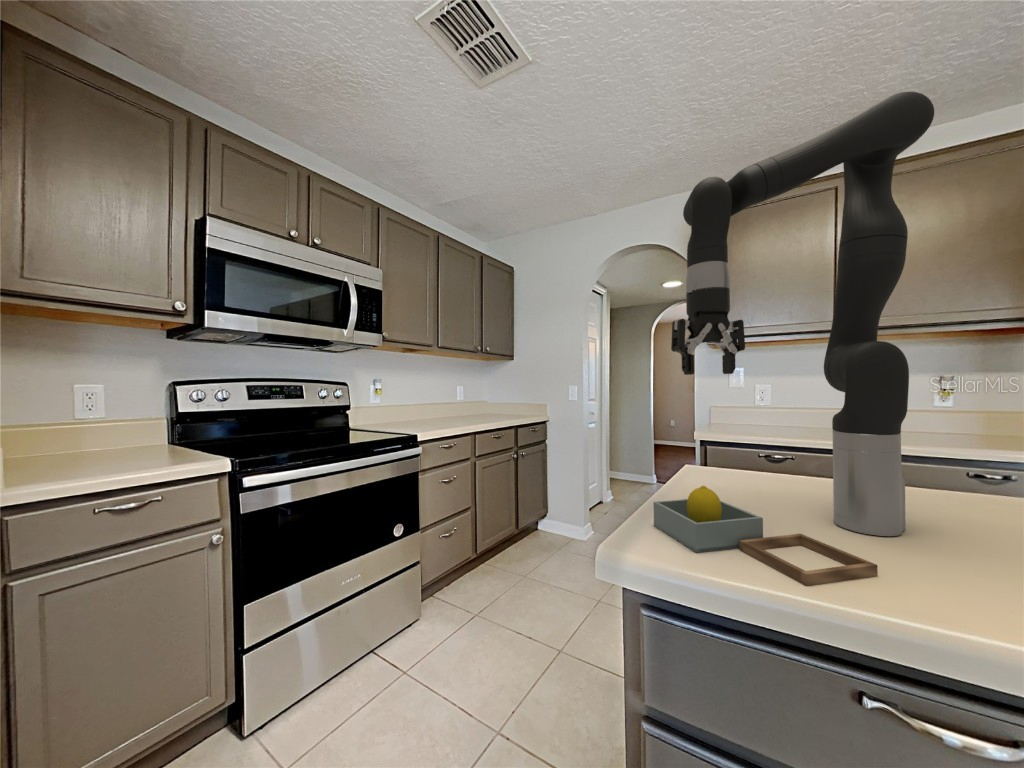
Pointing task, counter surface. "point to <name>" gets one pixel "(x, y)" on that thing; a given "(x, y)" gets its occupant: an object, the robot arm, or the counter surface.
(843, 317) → the robot arm
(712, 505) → the lemon
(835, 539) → the counter surface
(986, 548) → the counter surface
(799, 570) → the tray
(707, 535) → the bin
